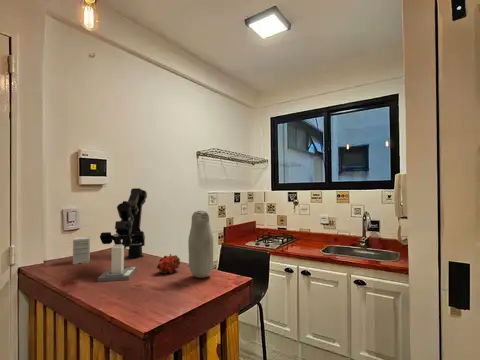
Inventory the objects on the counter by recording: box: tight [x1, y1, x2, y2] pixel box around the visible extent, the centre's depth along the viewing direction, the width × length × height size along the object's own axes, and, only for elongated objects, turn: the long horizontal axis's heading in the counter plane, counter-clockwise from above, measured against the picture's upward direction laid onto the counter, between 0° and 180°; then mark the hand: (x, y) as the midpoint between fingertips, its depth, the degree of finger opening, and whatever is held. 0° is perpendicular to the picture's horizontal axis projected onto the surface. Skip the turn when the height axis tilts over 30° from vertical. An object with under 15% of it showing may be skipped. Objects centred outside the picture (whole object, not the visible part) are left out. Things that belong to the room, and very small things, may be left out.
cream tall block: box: [110, 244, 125, 274], centre depth 118 cm, size 4×4×12 cm
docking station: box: [97, 265, 137, 283], centre depth 118 cm, size 14×12×2 cm
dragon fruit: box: [156, 253, 181, 274], centre depth 122 cm, size 8×8×12 cm
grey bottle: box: [187, 210, 214, 279], centre depth 116 cm, size 10×10×28 cm
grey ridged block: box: [72, 236, 91, 265], centre depth 142 cm, size 7×7×13 cm
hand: (119, 253), depth 120 cm, fingers closed, pressing on cream tall block
